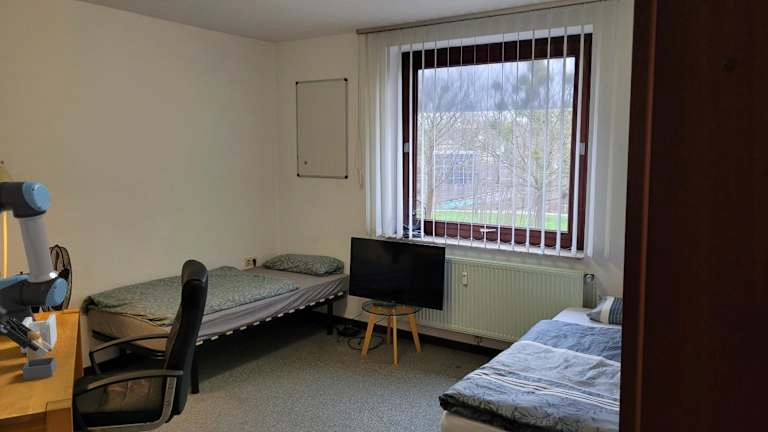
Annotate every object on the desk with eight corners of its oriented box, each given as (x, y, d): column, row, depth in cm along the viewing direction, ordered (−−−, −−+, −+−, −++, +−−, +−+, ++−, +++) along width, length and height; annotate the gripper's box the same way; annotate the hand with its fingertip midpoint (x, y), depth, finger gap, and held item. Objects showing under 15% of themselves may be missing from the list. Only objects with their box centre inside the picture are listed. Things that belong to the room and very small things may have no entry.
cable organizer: (52, 352, 218) (50, 323, 217) (19, 356, 215) (17, 326, 213) (57, 340, 232) (55, 312, 231) (27, 343, 228) (25, 315, 227)
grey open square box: (28, 371, 200) (27, 360, 200) (56, 367, 203) (55, 356, 203) (23, 380, 192) (22, 368, 192) (52, 376, 195) (51, 365, 195)
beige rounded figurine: (29, 361, 209) (26, 330, 208) (44, 359, 211) (42, 329, 210) (26, 366, 205) (24, 334, 203) (42, 364, 207) (40, 333, 205)
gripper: (-12, 314, 209) (43, 352, 217) (-26, 328, 192) (34, 368, 200) (4, 298, 210) (58, 336, 218) (-9, 311, 193) (50, 352, 201)
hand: (46, 352), depth 209 cm, fingers closed on beige rounded figurine, 5 cm apart
